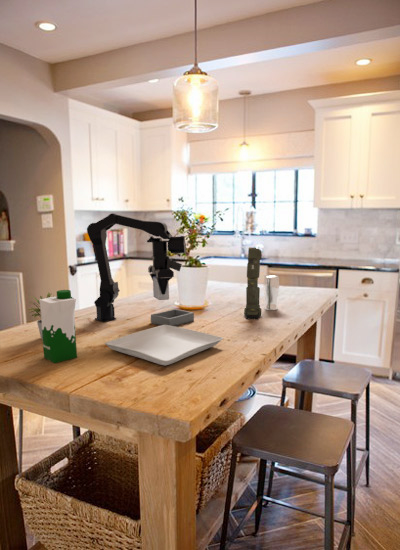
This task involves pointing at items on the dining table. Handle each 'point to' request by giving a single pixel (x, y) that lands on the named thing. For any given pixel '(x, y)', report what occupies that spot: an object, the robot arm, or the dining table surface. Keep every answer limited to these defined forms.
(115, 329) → the dining table surface
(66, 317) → the milk carton
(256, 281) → the mechanical leg
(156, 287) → the medicine box
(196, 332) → the square plate
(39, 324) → the house plant
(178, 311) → the bin
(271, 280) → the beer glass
